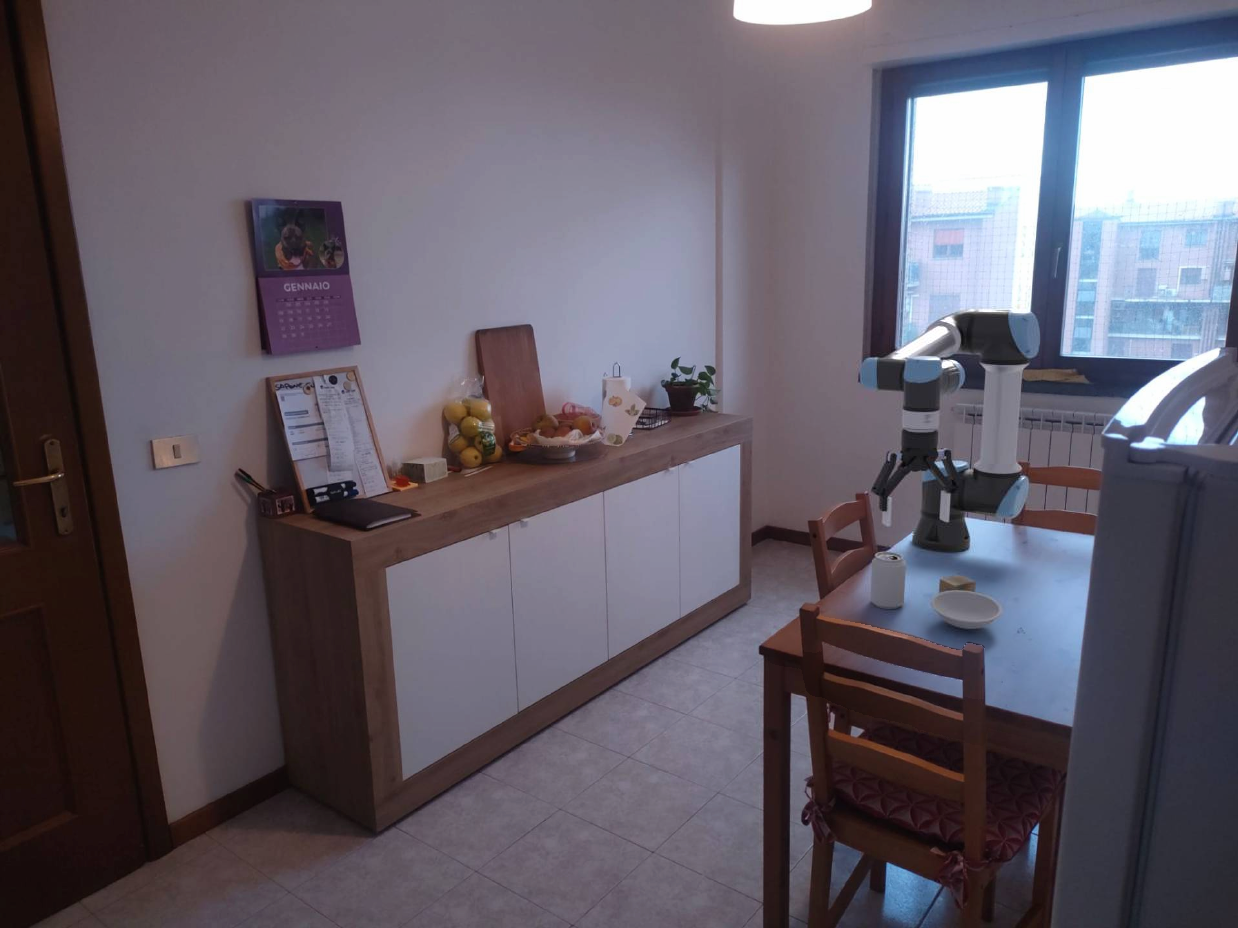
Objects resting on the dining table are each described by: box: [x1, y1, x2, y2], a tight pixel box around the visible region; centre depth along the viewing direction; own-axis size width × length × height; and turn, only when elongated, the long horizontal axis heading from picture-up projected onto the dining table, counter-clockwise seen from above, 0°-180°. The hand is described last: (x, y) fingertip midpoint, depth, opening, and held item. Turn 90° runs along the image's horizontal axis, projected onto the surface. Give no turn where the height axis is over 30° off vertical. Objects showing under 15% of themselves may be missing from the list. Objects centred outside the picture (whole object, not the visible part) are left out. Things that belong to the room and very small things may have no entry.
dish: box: [930, 590, 1003, 630], centre depth 186 cm, size 18×14×5 cm
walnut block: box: [938, 574, 976, 593], centre depth 203 cm, size 6×5×4 cm
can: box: [869, 551, 907, 610], centre depth 198 cm, size 8×8×12 cm
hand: (915, 522), depth 190 cm, fingers open, 13 cm apart
